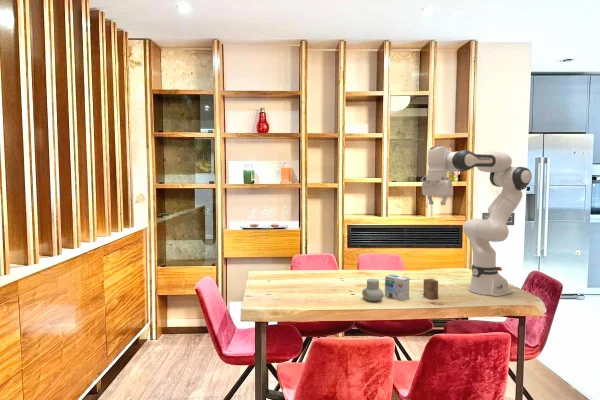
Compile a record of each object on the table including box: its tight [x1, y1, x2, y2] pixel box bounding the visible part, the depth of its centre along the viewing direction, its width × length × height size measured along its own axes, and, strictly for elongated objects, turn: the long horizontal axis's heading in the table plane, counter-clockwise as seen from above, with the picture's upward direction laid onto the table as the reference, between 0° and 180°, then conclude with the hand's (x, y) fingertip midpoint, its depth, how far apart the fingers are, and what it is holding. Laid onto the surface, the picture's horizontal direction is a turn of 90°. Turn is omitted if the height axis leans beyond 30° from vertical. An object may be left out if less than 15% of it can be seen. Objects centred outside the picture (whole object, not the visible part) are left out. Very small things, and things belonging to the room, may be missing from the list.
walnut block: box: [422, 278, 439, 300], centre depth 191 cm, size 5×5×9 cm
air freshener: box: [361, 278, 385, 302], centre depth 187 cm, size 11×8×10 cm
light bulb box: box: [384, 273, 410, 301], centre depth 192 cm, size 11×7×11 cm, turn 47°
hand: (437, 204), depth 190 cm, fingers open, 8 cm apart
